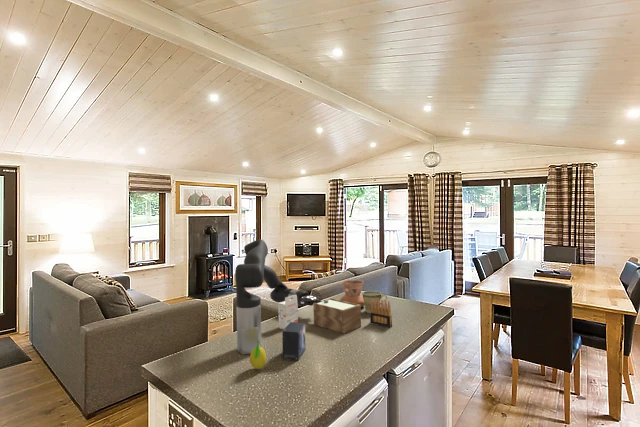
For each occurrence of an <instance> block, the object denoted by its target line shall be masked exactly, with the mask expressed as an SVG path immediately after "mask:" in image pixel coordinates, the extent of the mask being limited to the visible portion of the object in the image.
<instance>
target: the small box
mask: <svg viewBox="0 0 640 427" xmlns="http://www.w3.org/2000/svg"><path fill="white" fill-rule="evenodd" d="M281 333H282V340H281V341H282V344H281V345H282V351H281V352H282V354H281V358H282V359H281V360H283V361H284V360H286V361H295V362H296V361H299V360H301V357H302V356H303V354H304V352H305V351H306V323H304V322H298V323H295V322H290V323H289V324H288V325H287V327H286V328H285V329H282V332H281Z"/></svg>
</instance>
